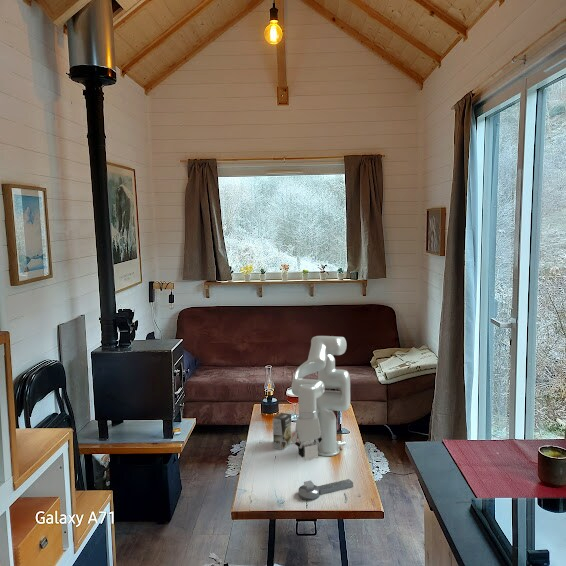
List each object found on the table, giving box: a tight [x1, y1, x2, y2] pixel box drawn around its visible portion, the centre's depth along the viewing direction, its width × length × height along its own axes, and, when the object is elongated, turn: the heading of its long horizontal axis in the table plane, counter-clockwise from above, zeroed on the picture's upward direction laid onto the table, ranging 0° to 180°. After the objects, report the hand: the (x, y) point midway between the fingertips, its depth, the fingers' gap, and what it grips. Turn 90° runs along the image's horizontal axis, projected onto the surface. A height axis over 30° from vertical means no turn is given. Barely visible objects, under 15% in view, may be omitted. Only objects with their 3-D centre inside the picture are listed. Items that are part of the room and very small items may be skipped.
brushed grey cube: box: [301, 440, 319, 462], centre depth 226 cm, size 6×6×6 cm
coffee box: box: [272, 412, 293, 451], centre depth 277 cm, size 9×6×16 cm
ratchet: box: [298, 478, 354, 501], centre depth 230 cm, size 25×9×6 cm, turn 111°
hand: (308, 454), depth 226 cm, fingers closed on brushed grey cube, 6 cm apart
